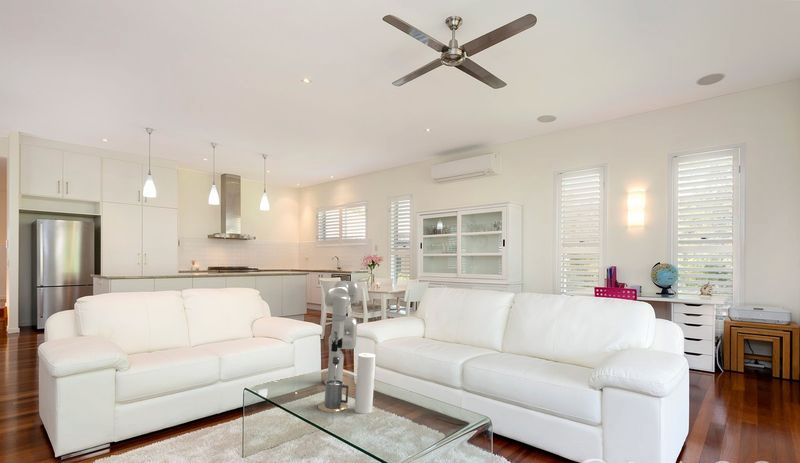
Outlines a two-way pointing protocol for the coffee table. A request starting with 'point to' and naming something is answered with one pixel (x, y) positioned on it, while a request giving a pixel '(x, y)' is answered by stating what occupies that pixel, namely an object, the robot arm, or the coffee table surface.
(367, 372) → the cylinder container
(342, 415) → the coffee table surface
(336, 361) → the plunger
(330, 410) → the press carafe
